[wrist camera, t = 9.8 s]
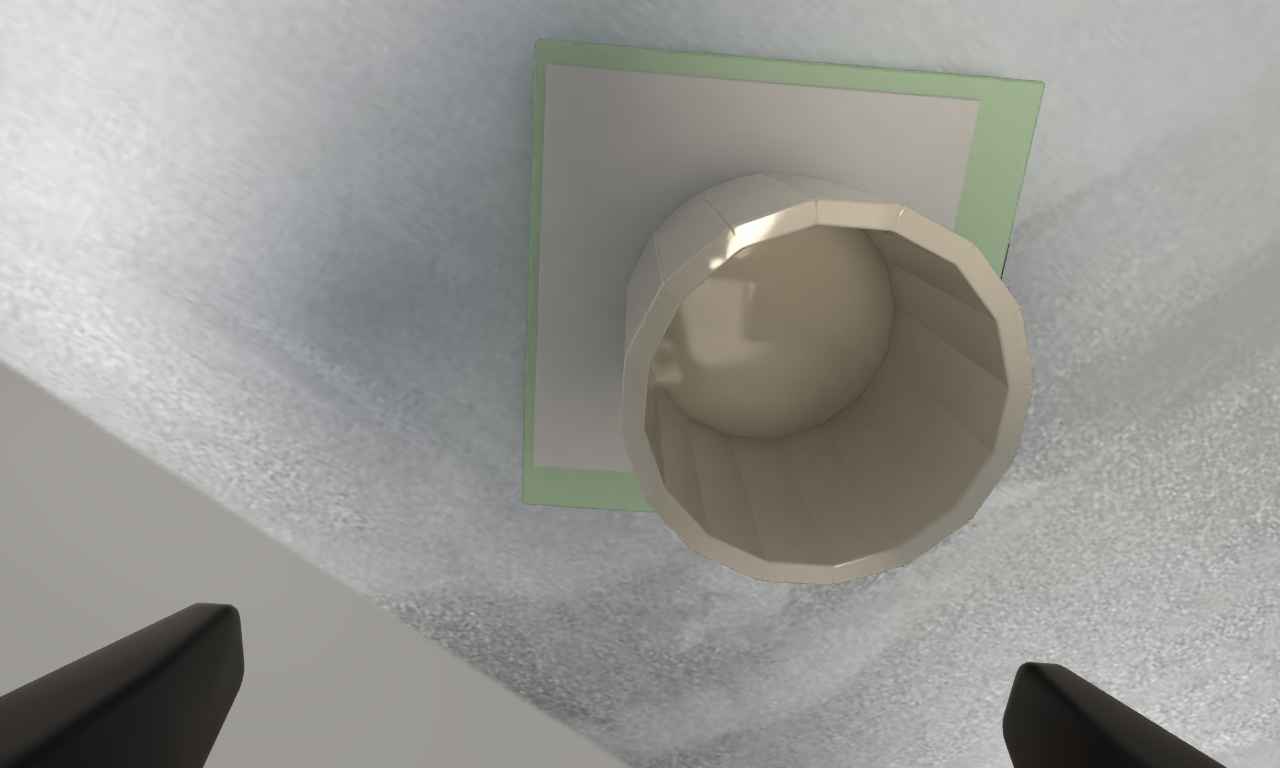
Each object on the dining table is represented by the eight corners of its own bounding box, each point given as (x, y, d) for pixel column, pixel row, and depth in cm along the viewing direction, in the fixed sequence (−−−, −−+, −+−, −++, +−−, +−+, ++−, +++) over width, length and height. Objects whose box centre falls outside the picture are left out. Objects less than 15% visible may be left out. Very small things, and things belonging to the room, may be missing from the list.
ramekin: (876, 452, 19) (981, 595, 13) (616, 435, 19) (609, 573, 13) (927, 184, 17) (1078, 217, 11) (635, 162, 17) (636, 183, 11)
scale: (921, 497, 22) (955, 540, 20) (531, 471, 22) (519, 513, 19) (1011, 85, 18) (1064, 81, 16) (545, 47, 18) (532, 35, 16)
